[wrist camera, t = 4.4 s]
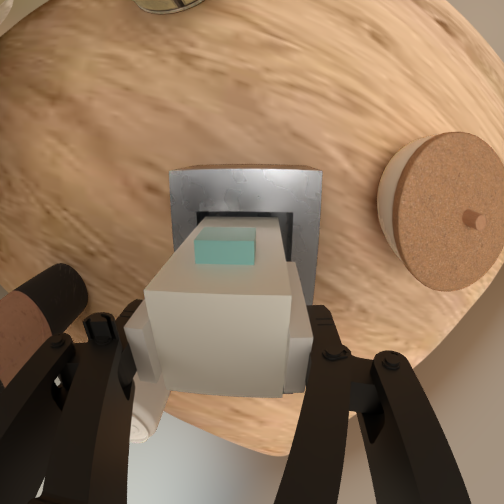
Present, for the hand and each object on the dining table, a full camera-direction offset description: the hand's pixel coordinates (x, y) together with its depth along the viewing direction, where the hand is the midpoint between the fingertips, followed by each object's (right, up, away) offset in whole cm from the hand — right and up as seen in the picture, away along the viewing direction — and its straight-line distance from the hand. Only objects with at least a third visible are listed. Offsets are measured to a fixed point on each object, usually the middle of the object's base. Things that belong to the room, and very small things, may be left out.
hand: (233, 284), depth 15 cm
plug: (0, +2, +5) cm, 5 cm away
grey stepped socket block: (+1, -2, +14) cm, 14 cm away
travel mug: (-23, -3, +16) cm, 28 cm away
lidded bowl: (+17, +8, +10) cm, 21 cm away
